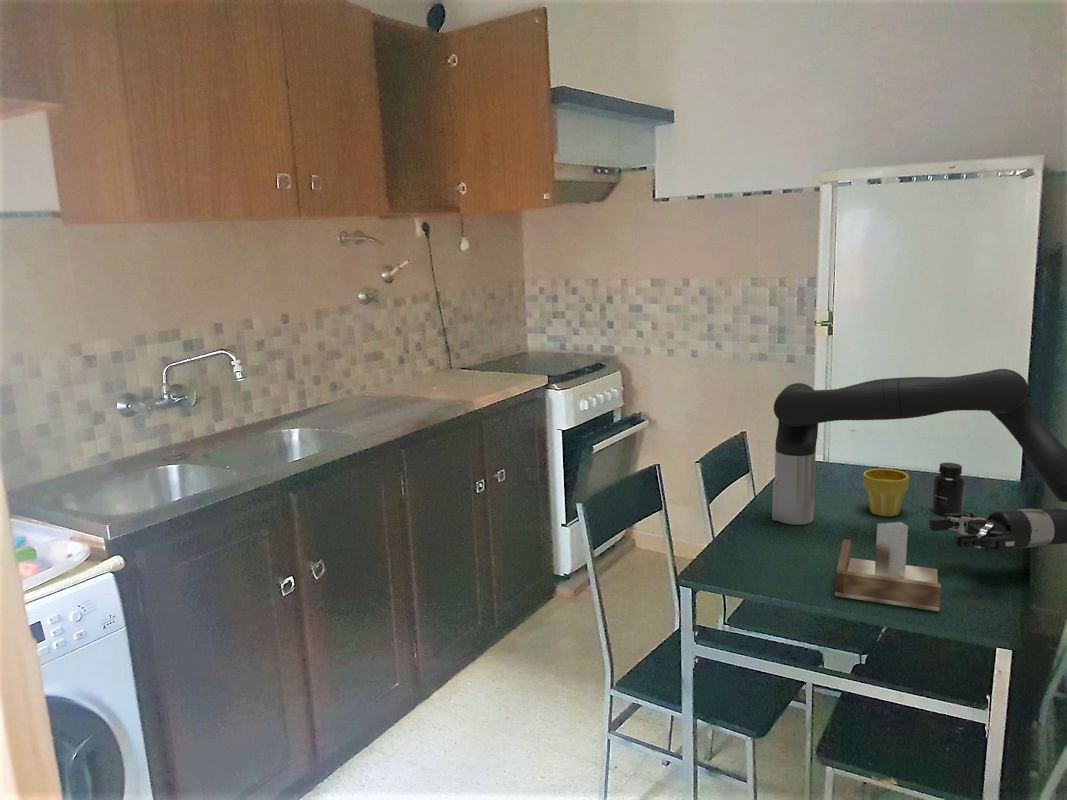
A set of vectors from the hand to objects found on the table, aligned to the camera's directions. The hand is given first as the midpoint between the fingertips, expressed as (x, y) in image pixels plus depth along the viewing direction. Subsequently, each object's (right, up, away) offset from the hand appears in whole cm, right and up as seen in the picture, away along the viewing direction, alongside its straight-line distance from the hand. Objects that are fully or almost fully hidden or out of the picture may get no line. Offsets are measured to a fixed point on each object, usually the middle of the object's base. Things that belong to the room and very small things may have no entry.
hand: (942, 533), depth 157 cm
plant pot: (+6, -2, +40) cm, 40 cm away
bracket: (-9, -9, +1) cm, 13 cm away
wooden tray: (-11, -10, +1) cm, 15 cm away
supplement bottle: (+21, -1, +38) cm, 44 cm away
